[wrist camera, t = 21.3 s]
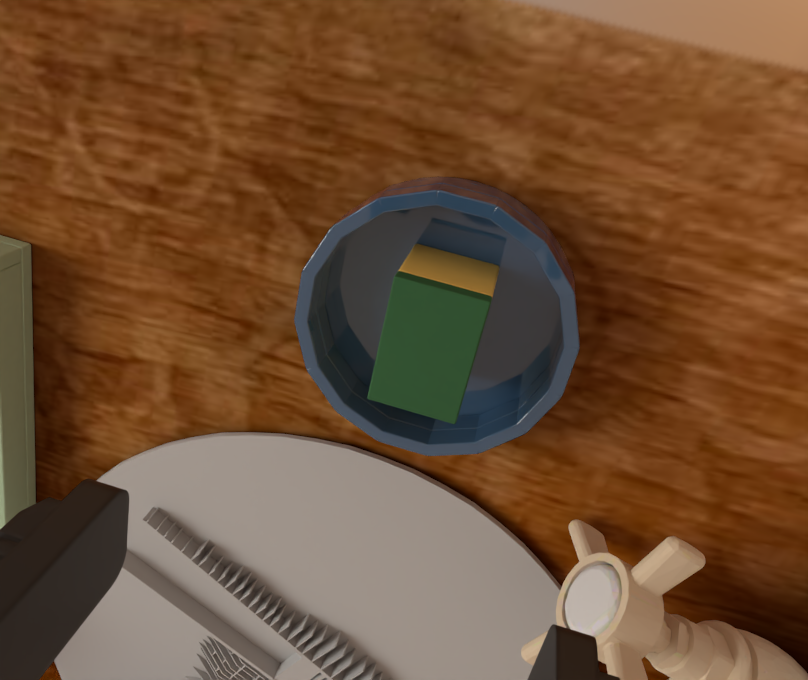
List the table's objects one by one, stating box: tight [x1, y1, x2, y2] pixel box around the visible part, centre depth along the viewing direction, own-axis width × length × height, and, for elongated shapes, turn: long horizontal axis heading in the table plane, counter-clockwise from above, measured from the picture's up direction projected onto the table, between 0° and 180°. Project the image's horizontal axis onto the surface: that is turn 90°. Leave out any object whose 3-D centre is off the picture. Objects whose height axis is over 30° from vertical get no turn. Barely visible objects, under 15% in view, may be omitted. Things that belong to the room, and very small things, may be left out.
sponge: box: [367, 244, 499, 424], centre depth 24 cm, size 4×3×4 cm
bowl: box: [294, 177, 580, 456], centre depth 25 cm, size 9×9×2 cm
